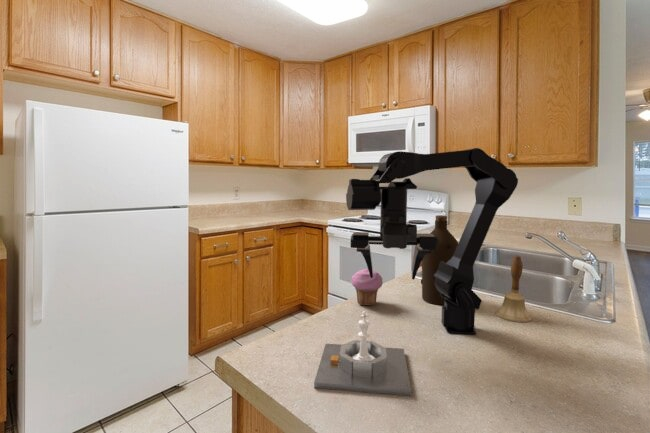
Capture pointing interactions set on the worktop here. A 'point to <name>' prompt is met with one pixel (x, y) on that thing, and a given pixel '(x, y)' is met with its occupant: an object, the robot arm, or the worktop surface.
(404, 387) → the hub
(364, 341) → the chess piece
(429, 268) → the olive oil
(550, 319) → the worktop surface
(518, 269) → the hand bell
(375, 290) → the cupcake
